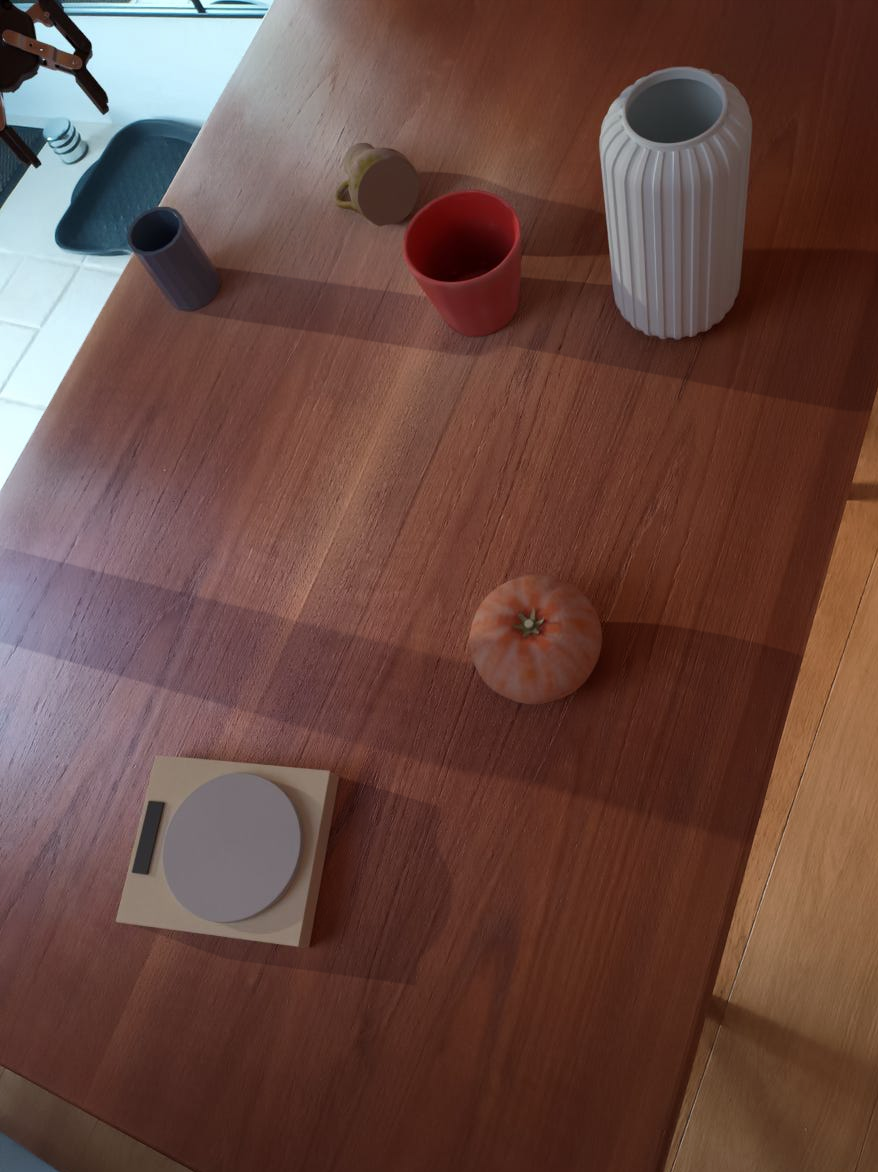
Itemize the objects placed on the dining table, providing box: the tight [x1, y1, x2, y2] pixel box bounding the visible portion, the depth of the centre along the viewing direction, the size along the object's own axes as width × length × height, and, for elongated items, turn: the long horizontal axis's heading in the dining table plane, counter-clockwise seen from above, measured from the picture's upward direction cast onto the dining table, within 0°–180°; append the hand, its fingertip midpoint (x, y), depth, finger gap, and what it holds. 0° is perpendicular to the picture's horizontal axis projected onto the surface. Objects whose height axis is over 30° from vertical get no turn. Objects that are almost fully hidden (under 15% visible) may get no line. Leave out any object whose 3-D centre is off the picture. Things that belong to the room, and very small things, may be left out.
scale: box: [115, 754, 340, 949], centre depth 82 cm, size 16×14×3 cm
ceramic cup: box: [126, 205, 221, 312], centre depth 102 cm, size 6×6×8 cm
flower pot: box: [401, 189, 523, 338], centre depth 93 cm, size 11×11×10 cm
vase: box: [598, 65, 753, 341], centre depth 83 cm, size 12×12×22 cm
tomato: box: [468, 574, 603, 705], centre depth 80 cm, size 11×11×8 cm
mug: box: [333, 142, 421, 227], centre depth 102 cm, size 8×10×10 cm
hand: (72, 138), depth 96 cm, fingers open, 8 cm apart
